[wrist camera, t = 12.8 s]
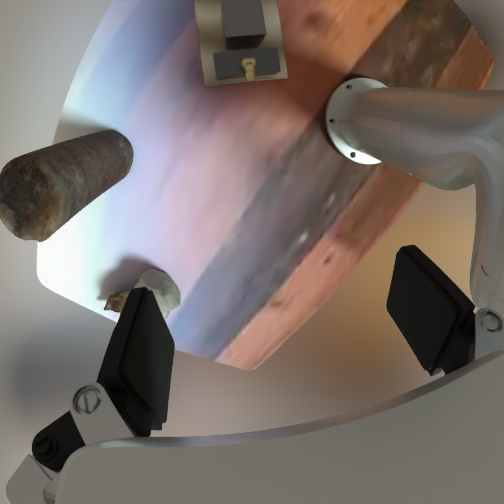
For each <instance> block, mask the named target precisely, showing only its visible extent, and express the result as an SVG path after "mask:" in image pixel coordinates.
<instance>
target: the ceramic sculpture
mask: <svg viewBox="0 0 504 504" xmlns="http://www.w3.org/2000/svg"><path fill="white" fill-rule="evenodd" d="M139 287H147V288H148V290H152V291H153V293H154V295H155V298H156V300H157V303H158V305H159V308H160V310H161V313H162V315H163V317H164V320H165V319H166V318H167V316H168V314H169V312H170V310H172V309H173V308H176V307H177V306H179V305H180V291H179V289H178V287H177V285H176V284H175V283H174V281H173V280H172V278H171V277H170V276H169V275H168V274H166V273H164V272H160V271H158V270H156V269H149V270H146V271H145V272H143V273H142V274H141V275H140V277H139V281H138V283H137V284H136V285H135V286H134V287H133V288H139ZM130 290H131V289H130ZM130 290H129V291H123V292H117V293H114V294H112V295H111V296H110V297H109V298H108V300H107V303H106V306H105V308H104V310H112V311H114V312H120V315H121V312H122V309H123V307H124V304H125V302H126V299H127V297H128V294H129V292H130Z"/></svg>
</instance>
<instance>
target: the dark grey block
mask: <svg viewBox="0 0 504 504" xmlns="http://www.w3.org/2000/svg"><path fill="white" fill-rule="evenodd" d="M221 20H222V27H223V34H224V42H225V49H234V48H243V47H255V46H260V44H261V42H262V41H263V39H264V37H265V36H266V27H265V21H264V14H263V8H262V2H261V0H221Z"/></svg>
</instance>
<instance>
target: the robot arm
mask: <svg viewBox="0 0 504 504" xmlns="http://www.w3.org/2000/svg"><path fill="white" fill-rule="evenodd" d="M346 86H348V89H347V88H346ZM330 119H332V122H331V123H330ZM325 125H326V130H327V133H328V136H329V138H330V140H331V142H332V143H333V145H334V147H335V148H336V149H337V150H338V151H339V152H340V153H341V154H342V155H344V156H345V157H346V158H348V159H350V160H352V161H354V162H357V163H360V164H366V165H367V164H376V163H380V162H384V163H386V164H388V165H390V166H392V167H395V168H397V169H399V170H401V171H403V172H405V173H407V174H409V175H411V176H413V177H415V178H417V179H419V180H421V181H423V182H425V183H427V184H429V185H431V186H433V187H436V188H438V189H442V190H447V191H454V190H460V189H463V188H466V187H468V186H470V185H472V184H475V188H476V224H475V235H474V243H473V251H472V260H471V269H470V291H471V295H472V299H473V302H474V304H475V305H474V304H473V303H472V302H471V300H469V298H468V297H467V296H466V295H465V294H464V293H463V292H462V291H461V290H460V289H459V288H458V286H457V285H456V284H455V283H454V282H452V280H451V279H450V278H449V277H448V276H447V275H446V274H445V273H444V272H443V271H442V270H441V269H440V268H439V267H438V266H437V265H436V264H435V263H434V262H433V261H432V260H430V259H429V258H428V257H427V256H426V255H425V254H424V253H423V252H422V251H421V250H420V249H419V248H418V247H417V246H415V245H408V246H403V247H401V248H400V250H399V251H398V252H397V254H396V260H395V265H394V270H393V276H392V281H391V285H390V291H389V295H388V299H387V311H388V312H389V314H390V316H391V317H392V319H393V320H394V321H395V323H396V325H397V326H398V328H399V329H400V331H401V332H402V334H403V336H404V337H405V339H406V340H407V342H408V344H409V345H410V347H411V349H412V350H413V352H414V354H415V355H416V357H417V359H418V360H419V362H420V364H421V365H422V367H423V368H424V370H428V372H429V374H430V376H433V375H435V374H438V373H440V372H441V371H442V370H443V371H444V372H445V376H443V377H441V378H439V379H437V380H435V381H432V382H431V383H428V384H426V385H423V386H421V387H419V388H416V389H414V390H411V391H409V392H407V393H404V394H401V395H399V396H396V397H393V398H391V399H388V400H385V401H382V402H379V403H376V404H373V405H370V406H367V407H364V408H361V409H358V410H354V411H351V412H348V413H344V414H340V415H336V416H333V417H329V418H325V419H320V420H316V421H312V422H307V423H302V424H297V425H292V426H287V427H281V428H275V429H269V430H262V431H255V432H246V433H237V434H225V435H211V436H192V437H149V436H150V435H151V430H162V423H165V422H166V420H167V411H168V399H169V390H170V382H171V373H172V365H173V356H174V349H175V346H174V340H173V338H172V336H171V333H170V331H169V329H168V327H167V324H166V322H165V320H164V317H163V315H162V313H161V310H160V308H159V305H158V303H157V300H156V298H155V295H154V293H153V291H152V290H148V288H147V287H139V288H132V289H131V290H130V292H129V294H128V297H127V299H126V302H125V304H124V307H123V309H122V312H121V315H120V317H119V320H118V323H117V325H116V327H115V328H114V331H113V333H112V336H111V339H110V342H109V344H108V347H107V351H106V353H105V356H104V359H103V362H102V365H101V368H100V372H99V375H98V378H97V381H96V382H92V381H89V382H84V383H82V384H80V385H79V386H78V387H76V388H75V389H74V391H73V392H72V393H71V396H70V398H69V408H70V410H69V411H68V412H67V413H65V414H64V415H62V416H61V417H60V418H58V419H57V420H55V421H54V422H53V423H51V424H50V425H48V426H47V427H46V428H44V429H43V430H41V431H40V432H39V433H38V434H37V435H36V436H35V438H34V440H33V443H32V452H33V455H32V456H31V455H30V454H28V455H27V457H26V458H25V459H24V461H23V462H22V463H21V465H20V466H19V467H18V469H17V470H16V471H15V473H14V474H13V475H12V477H11V478H10V480H9V481H8V483H7V485H6V493H7V497H8V499H9V501H10V502H11V504H504V90H456V89H440V88H404V87H394V88H388V87H387V86H386V85H384V84H383V83H381V82H379V81H377V80H374V79H370V78H355V79H351V80H348V81H345V82H344V83H342V84H341V85H339V86H338V87H337V88H336V89H335V90H334V91H333V93H332V94H331V96H330V97H329V100H328V102H327V105H326V110H325ZM350 153H352V154H351V155H350ZM475 306H476V307H477V309H478V311H477V312H476V314H475V313H474V312H473V310H474V308H475Z"/></svg>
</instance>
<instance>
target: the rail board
mask: <svg viewBox="0 0 504 504" xmlns="http://www.w3.org/2000/svg"><path fill="white" fill-rule="evenodd" d="M261 2H262V8H263V14H264V21H265V27H266V36H265V37H264V39H263V41H262V42H261V44H260V46H255V47H243V48H234V49H225V42H224V34H223V27H222V20H221V0H194V6H195V15H196V23H197V31H198V39H199V46H200V54H201V61H202V69H203V76H204V83H205V87H212V86H219V85H225V84H233V83H241V82H251V81H248V80H247V79H246V77H242V78H234V79H226V80H219V81H217V79H216V73H215V66H214V58H213V53H217V52H224V51H232V50H241V49H252V48H267V47H278V53H279V61H280V68H281V71H280V72H279V73H277V74H276V75H263V76H256V78H255V80H253V81H262V80H275V79H286V78H288V75H287V67H286V60H285V52H284V45H283V38H282V32H281V25H280V19H279V13H278V7H277V1H276V0H261Z"/></svg>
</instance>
